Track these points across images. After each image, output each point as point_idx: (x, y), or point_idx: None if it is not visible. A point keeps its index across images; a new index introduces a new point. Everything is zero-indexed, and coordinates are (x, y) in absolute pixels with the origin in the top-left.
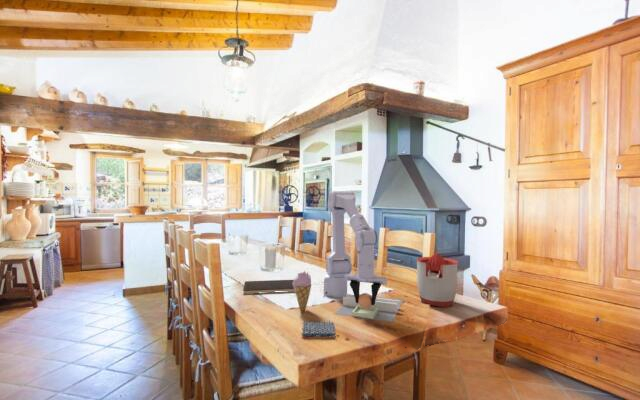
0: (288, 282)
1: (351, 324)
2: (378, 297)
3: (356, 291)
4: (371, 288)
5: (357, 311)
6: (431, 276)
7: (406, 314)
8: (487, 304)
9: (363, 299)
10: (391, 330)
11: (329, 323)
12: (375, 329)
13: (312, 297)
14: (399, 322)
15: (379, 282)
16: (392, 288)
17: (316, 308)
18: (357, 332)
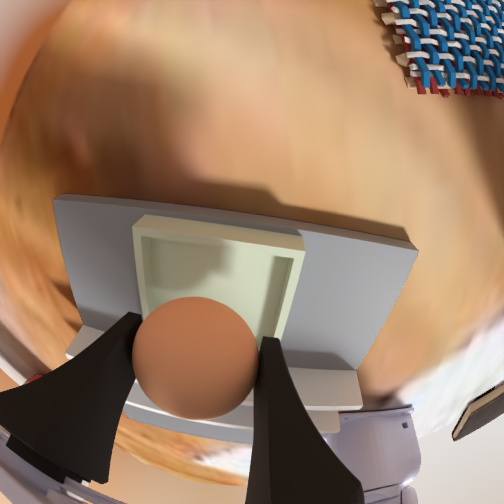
0: (473, 426)
1: (290, 124)
2: (208, 435)
3: (269, 426)
4: (54, 420)
5: (269, 305)
6: None
7: (72, 330)
8: (11, 376)
9: (190, 341)
10: (54, 126)
11: (433, 49)
12: (121, 96)
13: (444, 396)
14: (54, 243)
15: (16, 456)
16: (197, 463)
17: (466, 319)
18: (225, 8)
